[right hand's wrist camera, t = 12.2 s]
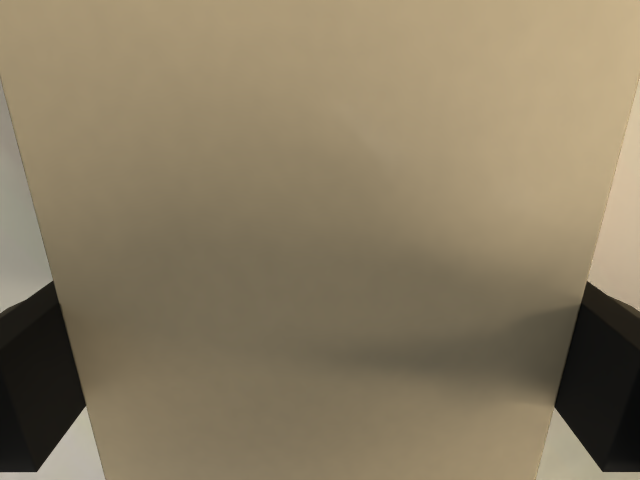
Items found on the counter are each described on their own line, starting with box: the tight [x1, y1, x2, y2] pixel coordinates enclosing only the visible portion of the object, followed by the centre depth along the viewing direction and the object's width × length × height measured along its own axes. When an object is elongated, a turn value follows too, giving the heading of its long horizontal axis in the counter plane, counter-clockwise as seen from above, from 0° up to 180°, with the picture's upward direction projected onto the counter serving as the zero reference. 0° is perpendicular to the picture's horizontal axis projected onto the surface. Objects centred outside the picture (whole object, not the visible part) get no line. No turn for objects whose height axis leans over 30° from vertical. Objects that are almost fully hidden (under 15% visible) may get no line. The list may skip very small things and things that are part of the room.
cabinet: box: [0, 0, 640, 480], centre depth 11 cm, size 21×11×9 cm, turn 0°
